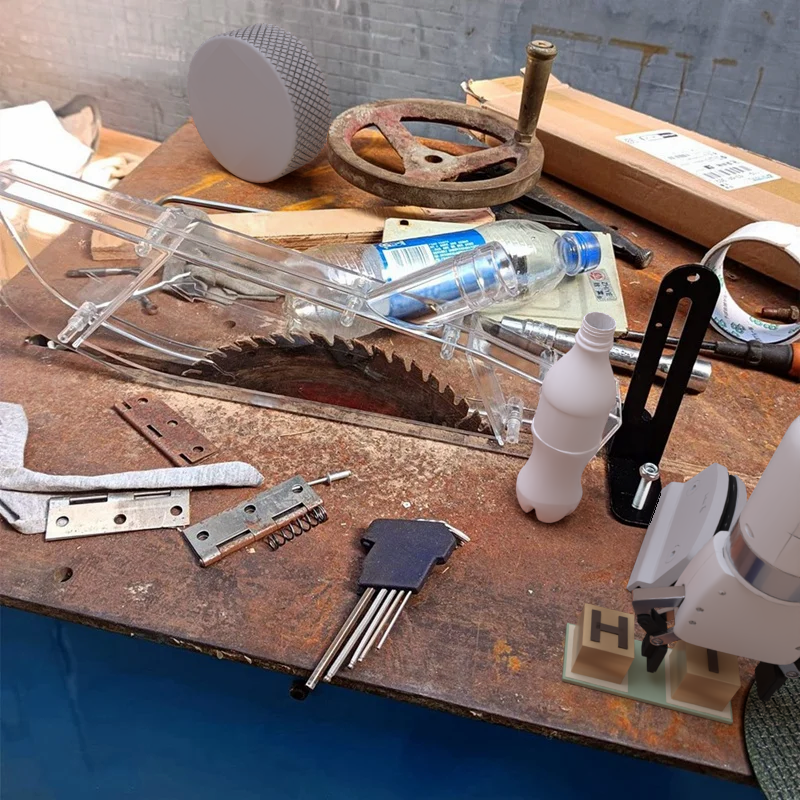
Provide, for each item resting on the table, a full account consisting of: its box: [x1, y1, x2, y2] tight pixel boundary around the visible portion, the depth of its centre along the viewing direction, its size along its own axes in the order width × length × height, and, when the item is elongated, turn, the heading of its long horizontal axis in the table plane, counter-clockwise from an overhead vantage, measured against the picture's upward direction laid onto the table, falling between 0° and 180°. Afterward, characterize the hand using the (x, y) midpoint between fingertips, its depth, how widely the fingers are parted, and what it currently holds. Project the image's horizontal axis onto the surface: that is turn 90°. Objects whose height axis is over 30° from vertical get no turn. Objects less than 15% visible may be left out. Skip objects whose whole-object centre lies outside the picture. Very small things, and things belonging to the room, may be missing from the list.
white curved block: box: [626, 462, 748, 592], centre depth 79 cm, size 17×5×10 cm, turn 152°
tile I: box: [669, 640, 742, 711], centre depth 67 cm, size 4×4×5 cm
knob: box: [186, 22, 333, 184], centre depth 135 cm, size 25×10×25 cm, turn 58°
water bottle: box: [515, 311, 617, 524], centre depth 77 cm, size 7×7×25 cm
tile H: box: [571, 602, 635, 684], centre depth 69 cm, size 4×4×5 cm
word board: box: [561, 622, 734, 725], centre depth 70 cm, size 15×6×1 cm, turn 77°
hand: (704, 671), depth 68 cm, fingers open, 9 cm apart
